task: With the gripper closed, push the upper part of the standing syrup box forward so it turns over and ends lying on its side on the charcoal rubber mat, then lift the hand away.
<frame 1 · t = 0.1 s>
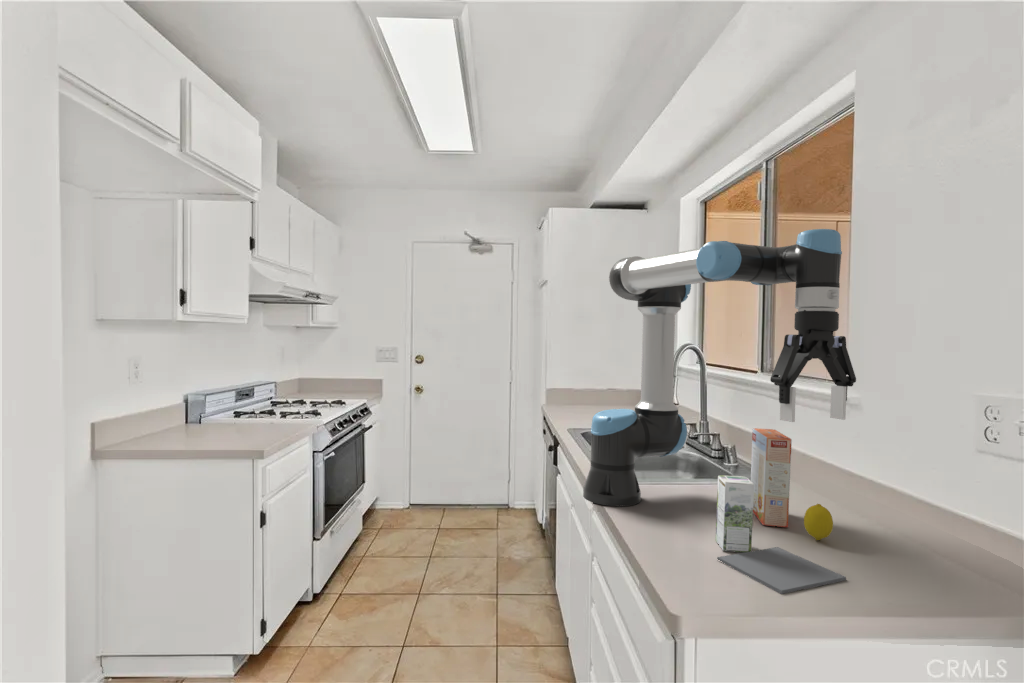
hand: (813, 420, 107), 28 cm above the counter, tool pointing down, fingers open, 13 cm apart
cracker box: (768, 518, 135), on the counter
syrup box: (733, 548, 115), on the counter
lemon: (817, 541, 120), on the counter
mat: (779, 569, 104), on the counter
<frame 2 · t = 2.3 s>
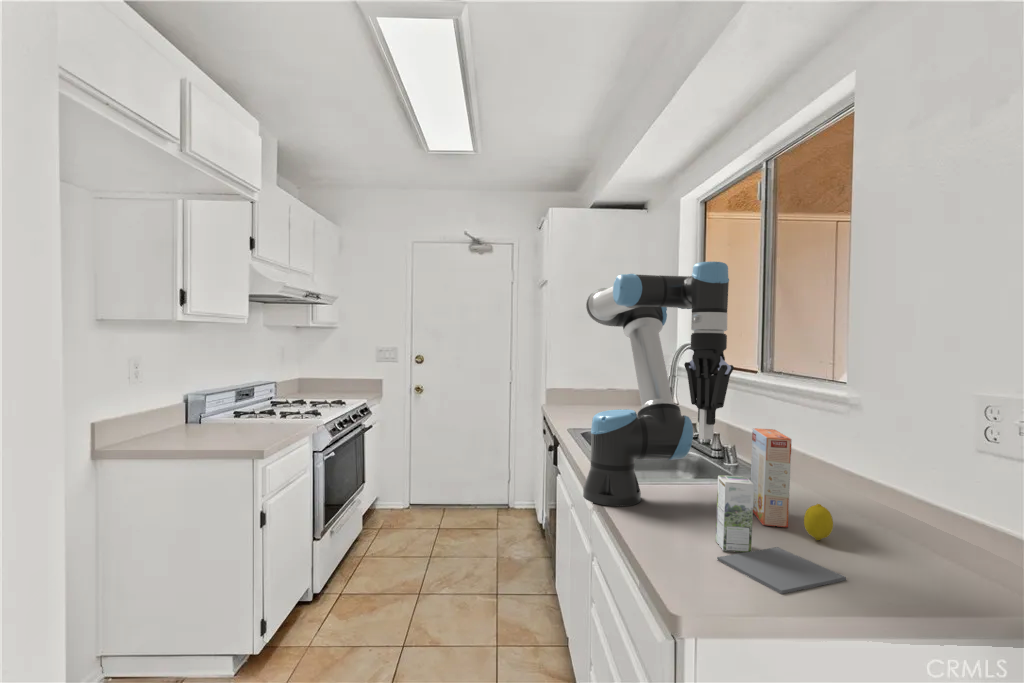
hand: (706, 438, 123), 21 cm above the counter, tool pointing down, fingers closed
nothing on the counter moved.
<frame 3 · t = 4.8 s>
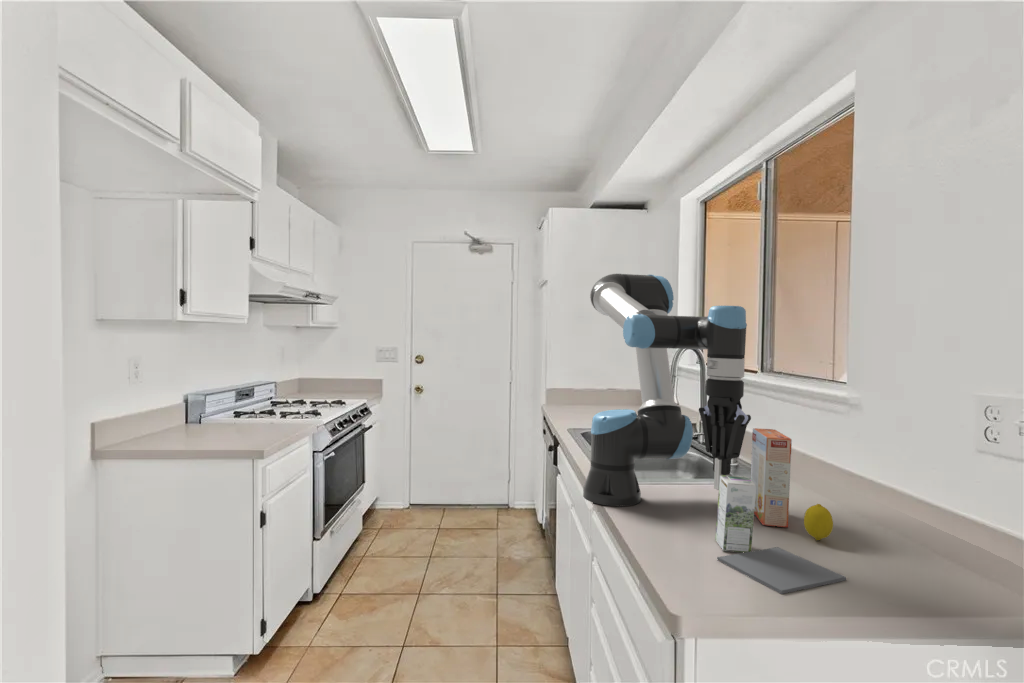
hand: (721, 488, 118), 11 cm above the counter, tool pointing down, fingers closed
syrup box: (732, 548, 115), on the counter, touching gripper
everything else where it was.
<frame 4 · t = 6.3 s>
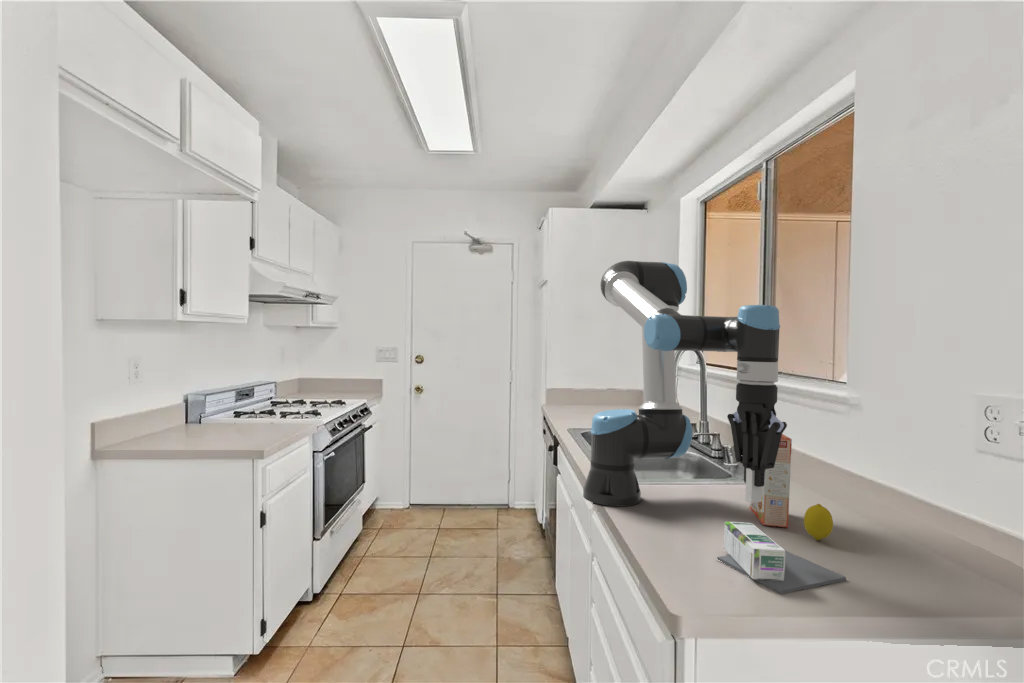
hand: (753, 501, 110), 11 cm above the counter, tool pointing down, fingers closed
syrup box: (737, 535, 112), point 3 cm above the counter, touching mat
everything else where it was.
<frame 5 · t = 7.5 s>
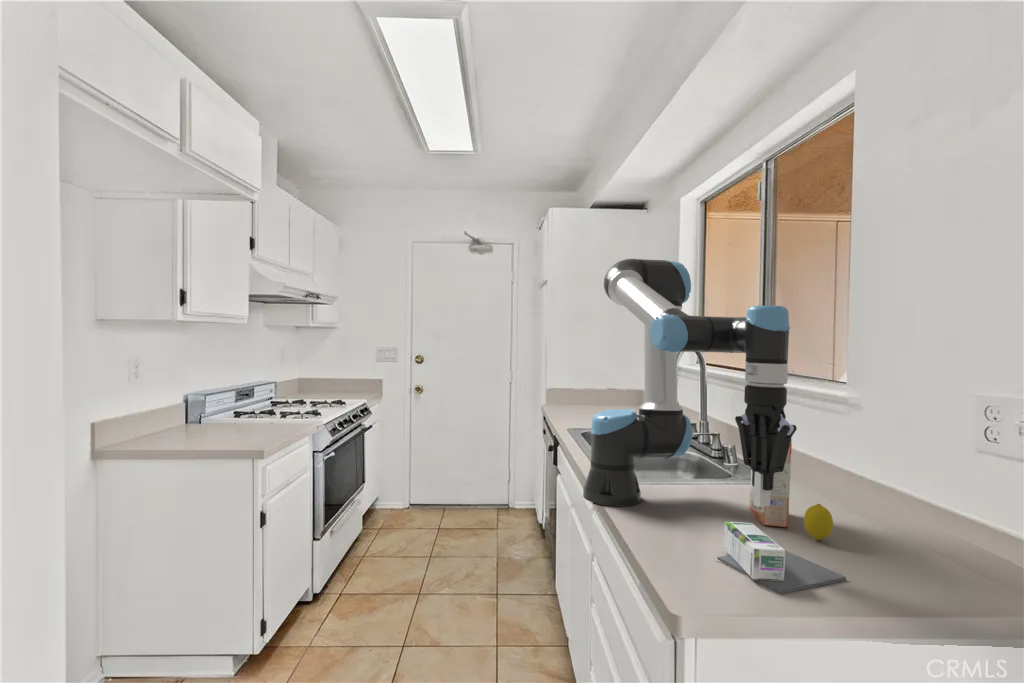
hand: (761, 505, 108), 11 cm above the counter, tool pointing down, fingers closed
nothing on the counter moved.
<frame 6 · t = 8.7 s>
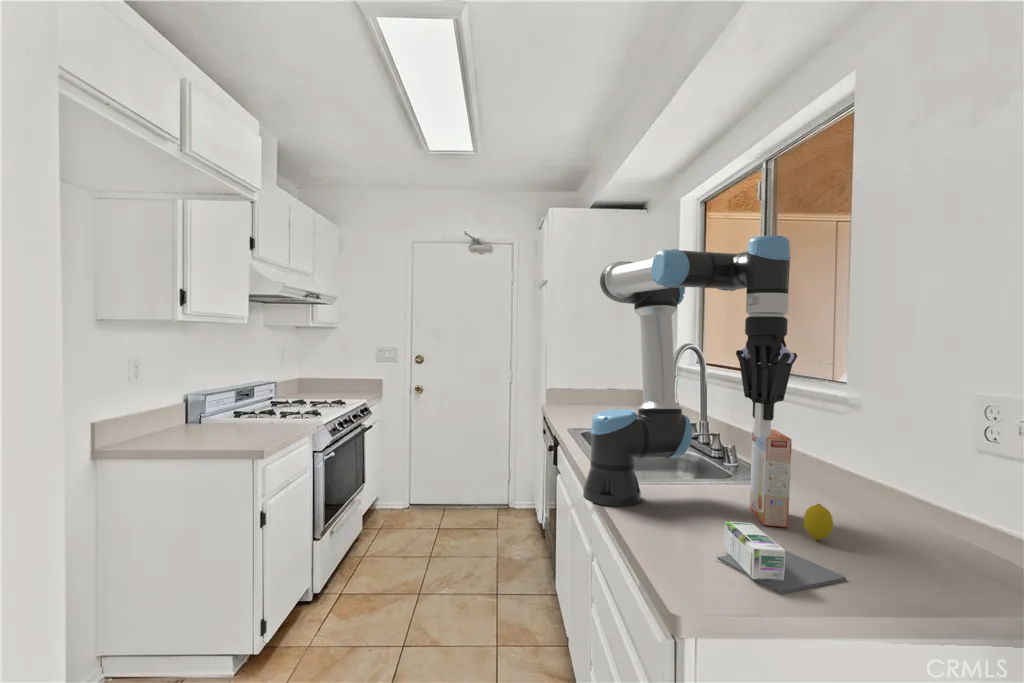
hand: (762, 436, 109), 24 cm above the counter, tool pointing down, fingers closed
nothing on the counter moved.
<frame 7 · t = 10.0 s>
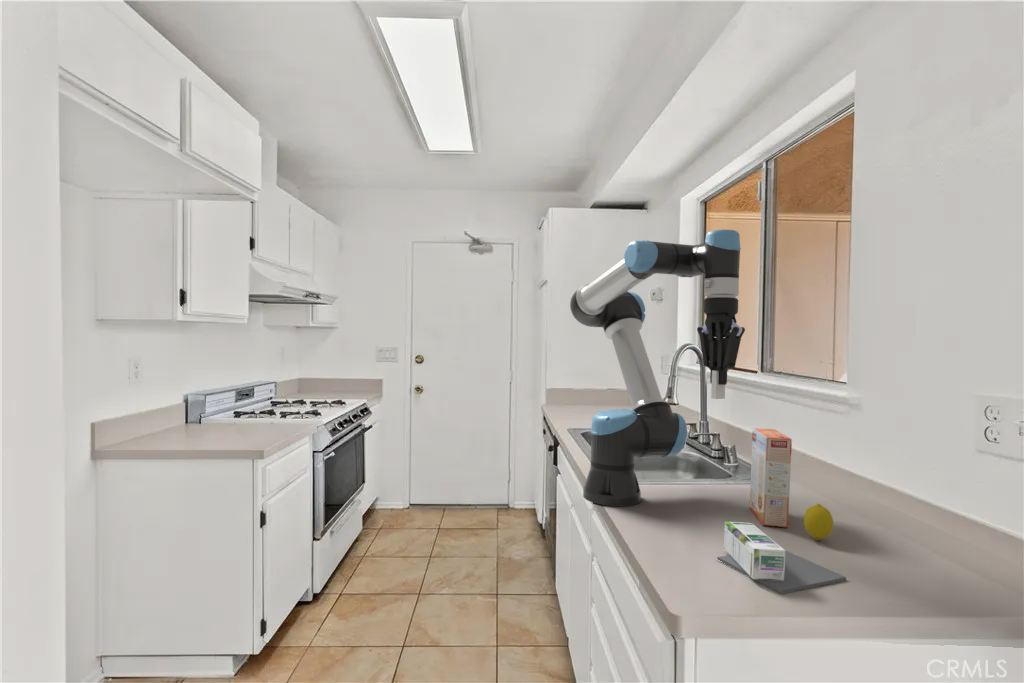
hand: (717, 398, 129), 29 cm above the counter, tool pointing down, fingers closed
nothing on the counter moved.
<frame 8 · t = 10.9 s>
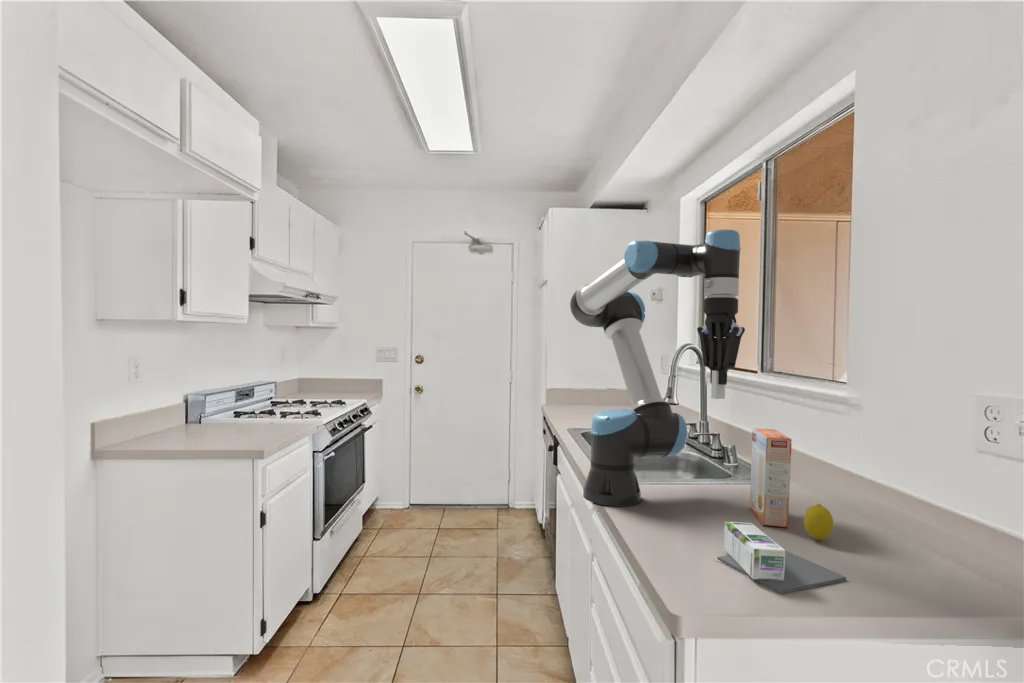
hand: (717, 398, 129), 29 cm above the counter, tool pointing down, fingers closed
nothing on the counter moved.
at the end: syrup box tilted 89°; syrup box touching mat; syrup box inside the target area (6.9 cm from its centre), point 3.4 cm above the counter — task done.
